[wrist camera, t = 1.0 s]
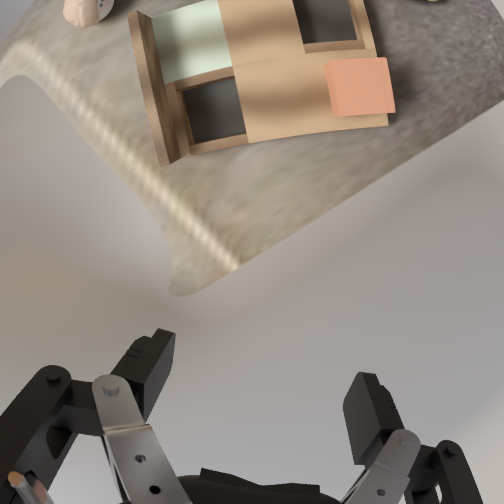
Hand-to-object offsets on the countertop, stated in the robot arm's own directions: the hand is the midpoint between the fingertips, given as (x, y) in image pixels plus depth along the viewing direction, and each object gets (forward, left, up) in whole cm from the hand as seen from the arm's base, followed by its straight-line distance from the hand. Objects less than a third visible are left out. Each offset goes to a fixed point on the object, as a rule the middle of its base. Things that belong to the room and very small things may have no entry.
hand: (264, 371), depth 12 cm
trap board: (-15, +1, -24) cm, 28 cm away
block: (-11, +9, -22) cm, 26 cm away
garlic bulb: (-29, -16, -24) cm, 41 cm away
